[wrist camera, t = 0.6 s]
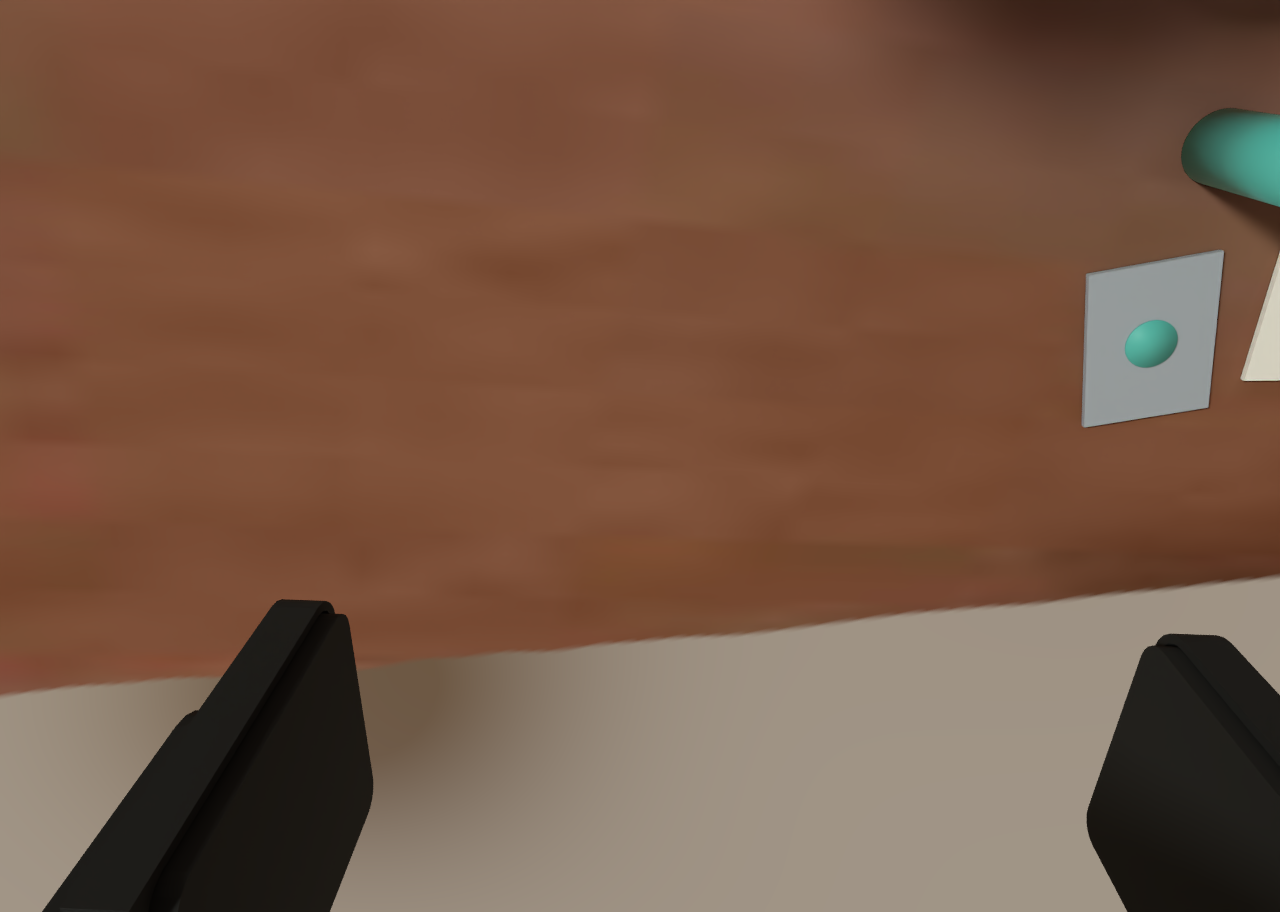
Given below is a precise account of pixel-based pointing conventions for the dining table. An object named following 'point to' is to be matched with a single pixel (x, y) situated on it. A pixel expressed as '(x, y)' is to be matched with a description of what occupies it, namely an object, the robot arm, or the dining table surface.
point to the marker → (1236, 153)
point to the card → (1150, 338)
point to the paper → (1266, 337)
